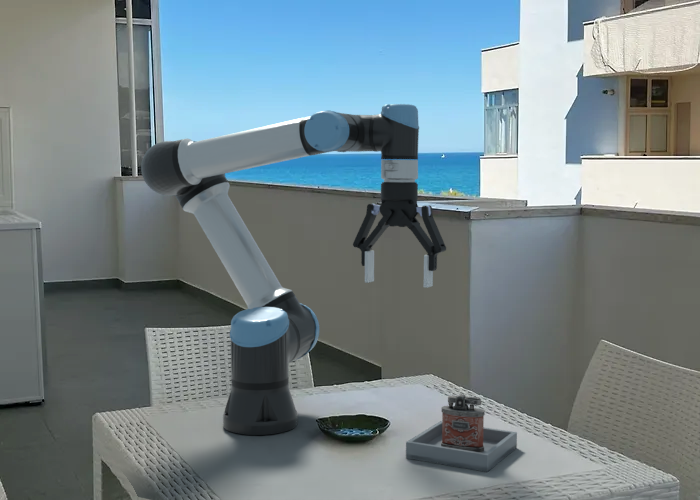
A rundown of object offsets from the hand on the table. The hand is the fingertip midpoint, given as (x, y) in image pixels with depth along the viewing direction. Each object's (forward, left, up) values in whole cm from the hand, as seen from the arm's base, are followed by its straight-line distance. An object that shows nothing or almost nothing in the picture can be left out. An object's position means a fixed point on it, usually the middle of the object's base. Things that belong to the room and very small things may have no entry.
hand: (398, 284), depth 191 cm
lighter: (+20, -14, -28) cm, 37 cm away
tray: (+20, -14, -28) cm, 38 cm away
